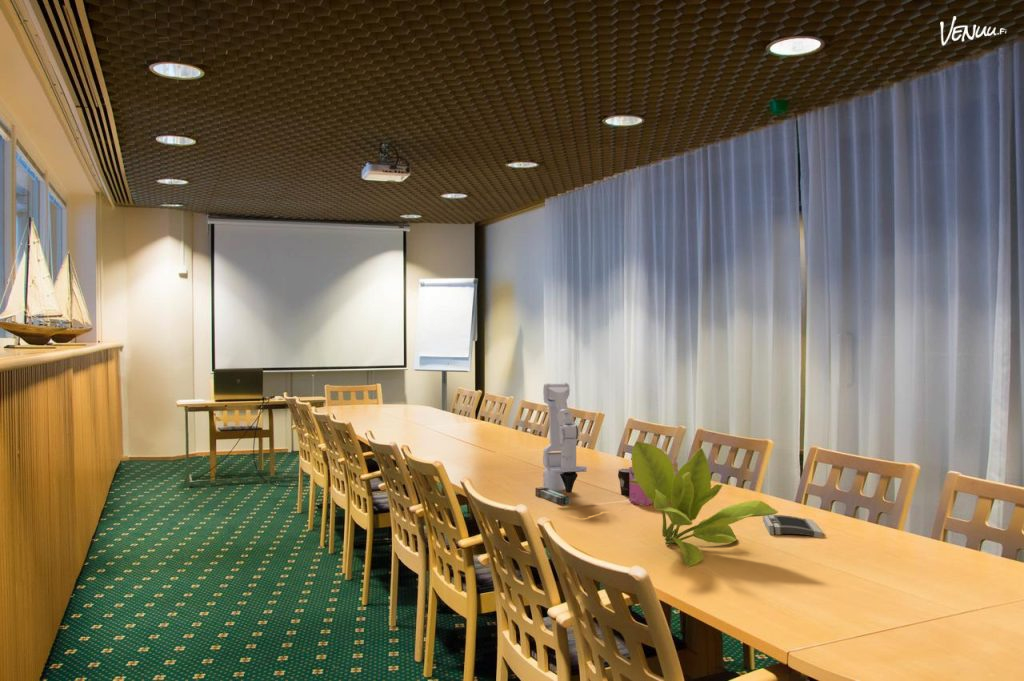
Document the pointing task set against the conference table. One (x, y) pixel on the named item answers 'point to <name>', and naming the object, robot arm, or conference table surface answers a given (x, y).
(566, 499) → the bar
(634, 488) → the gum box
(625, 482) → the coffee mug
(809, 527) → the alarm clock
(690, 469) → the artificial plant
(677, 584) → the conference table surface
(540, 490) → the tongs base
